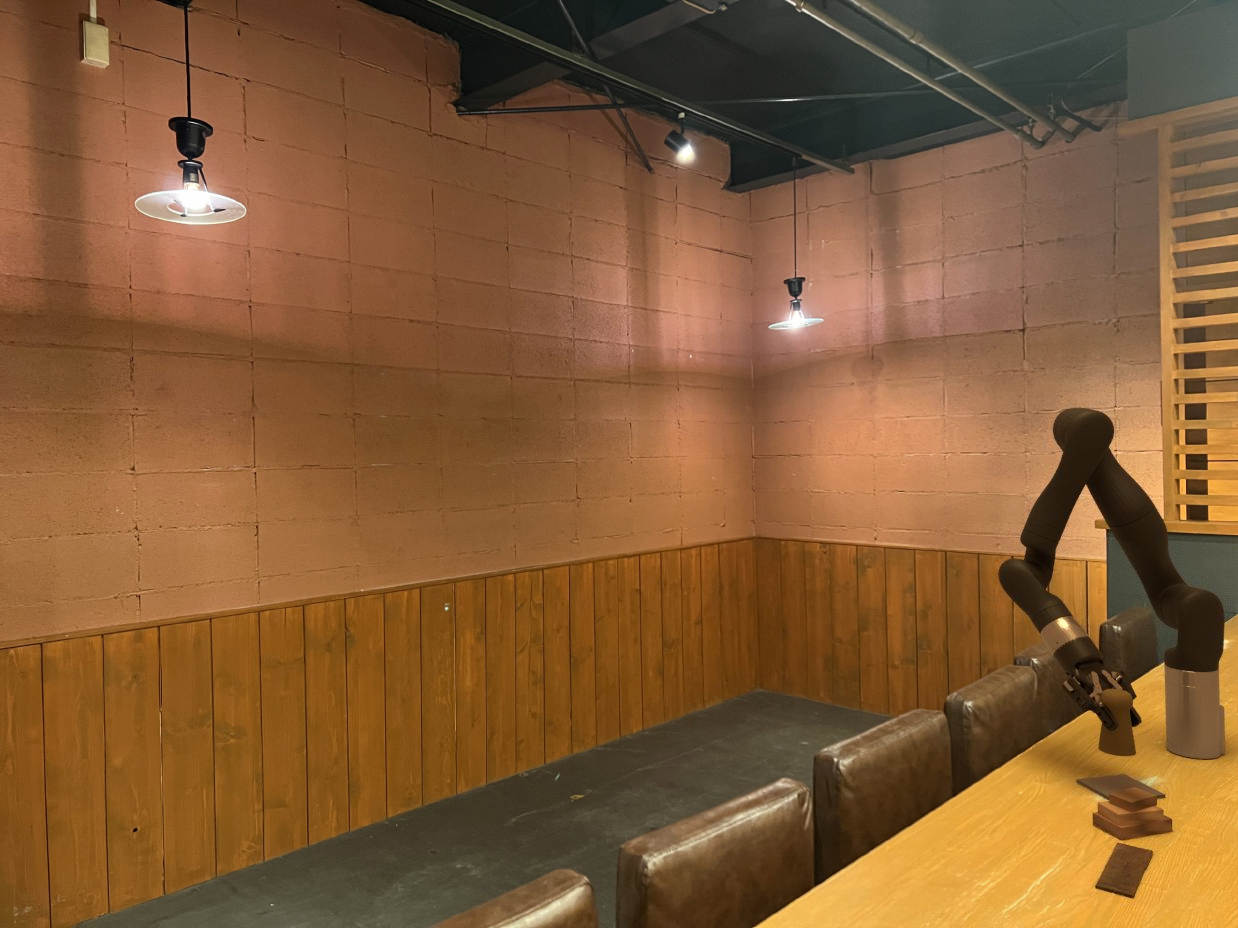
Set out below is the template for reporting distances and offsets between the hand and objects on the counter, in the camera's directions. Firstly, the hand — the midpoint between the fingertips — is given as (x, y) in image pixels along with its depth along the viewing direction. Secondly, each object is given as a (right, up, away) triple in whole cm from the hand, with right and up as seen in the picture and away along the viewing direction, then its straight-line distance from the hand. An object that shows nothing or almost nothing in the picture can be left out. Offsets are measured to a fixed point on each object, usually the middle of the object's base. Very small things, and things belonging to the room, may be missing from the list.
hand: (1125, 726), depth 159 cm
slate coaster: (0, -12, +2) cm, 12 cm away
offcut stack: (-7, -13, -13) cm, 20 cm away
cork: (0, -5, +2) cm, 6 cm away
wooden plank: (-15, -14, -27) cm, 34 cm away
